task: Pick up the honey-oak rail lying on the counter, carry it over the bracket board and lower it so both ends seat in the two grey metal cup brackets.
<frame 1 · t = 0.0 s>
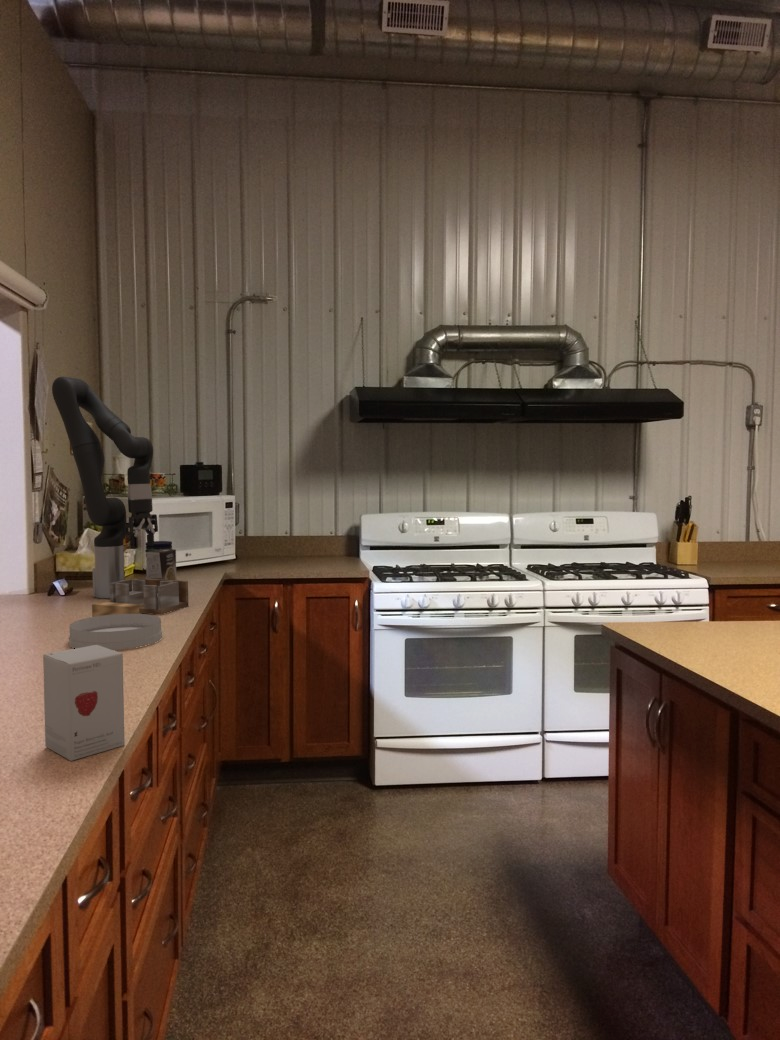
hand: (142, 547, 245), 17 cm above the countertop, tool pointing down, fingers open, 8 cm apart
dish: (116, 642, 187), on the countertop
coffee box: (162, 599, 246), on the countertop
supplement box: (85, 747, 117), on the countertop
bracket board: (150, 608, 229), on the countertop
storage jar: (159, 581, 283), on the countertop
rail: (115, 619, 214), on the countertop
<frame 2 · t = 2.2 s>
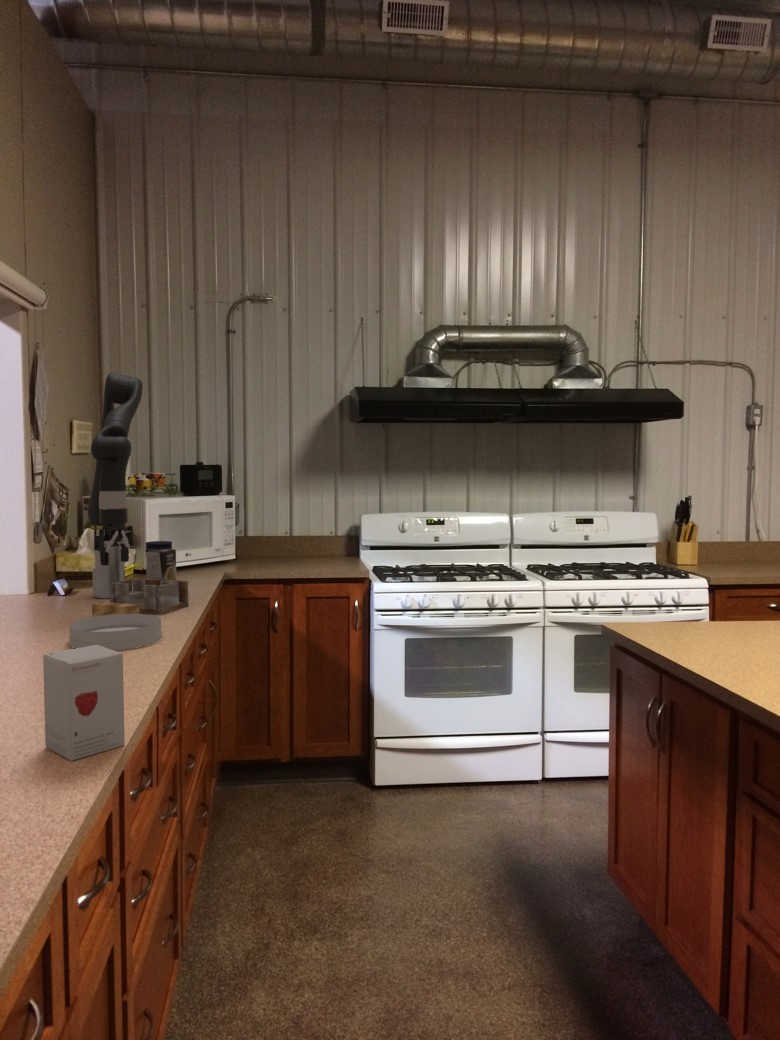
hand: (115, 563, 212), 16 cm above the countertop, tool pointing down, fingers open, 8 cm apart
nothing on the countertop moved.
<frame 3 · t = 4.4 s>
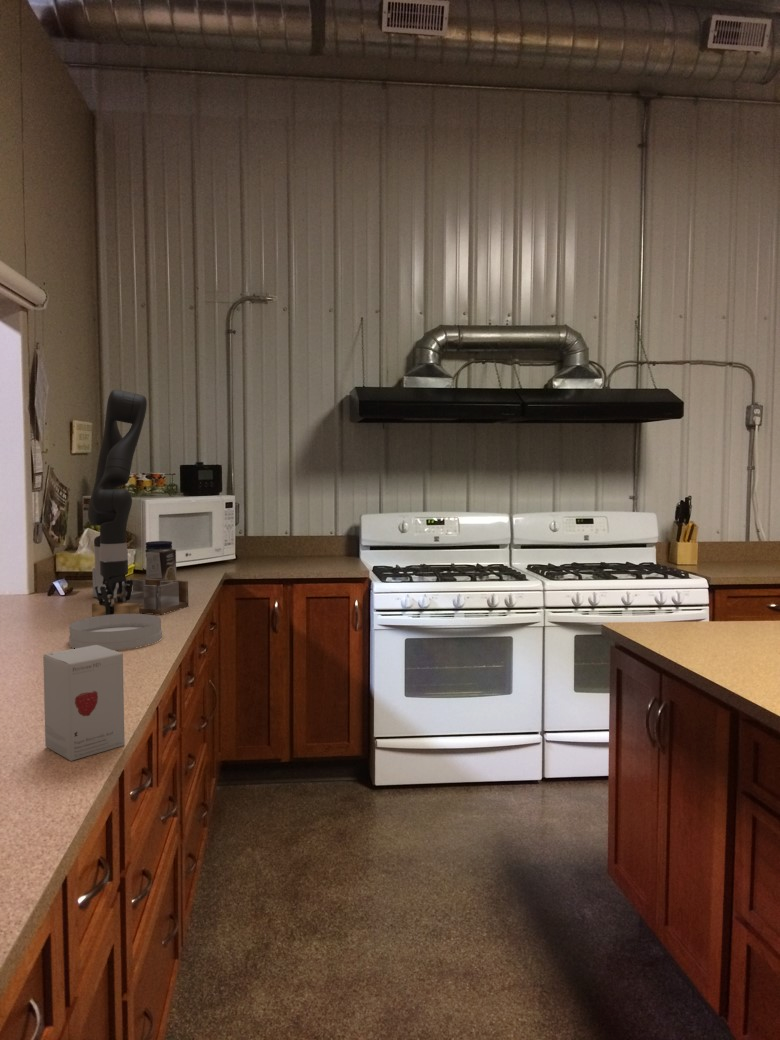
hand: (115, 617, 213), 0 cm above the countertop, tool pointing down, fingers closed on rail, 4 cm apart
rail: (115, 619, 214), on the countertop, touching gripper
everything else where it was.
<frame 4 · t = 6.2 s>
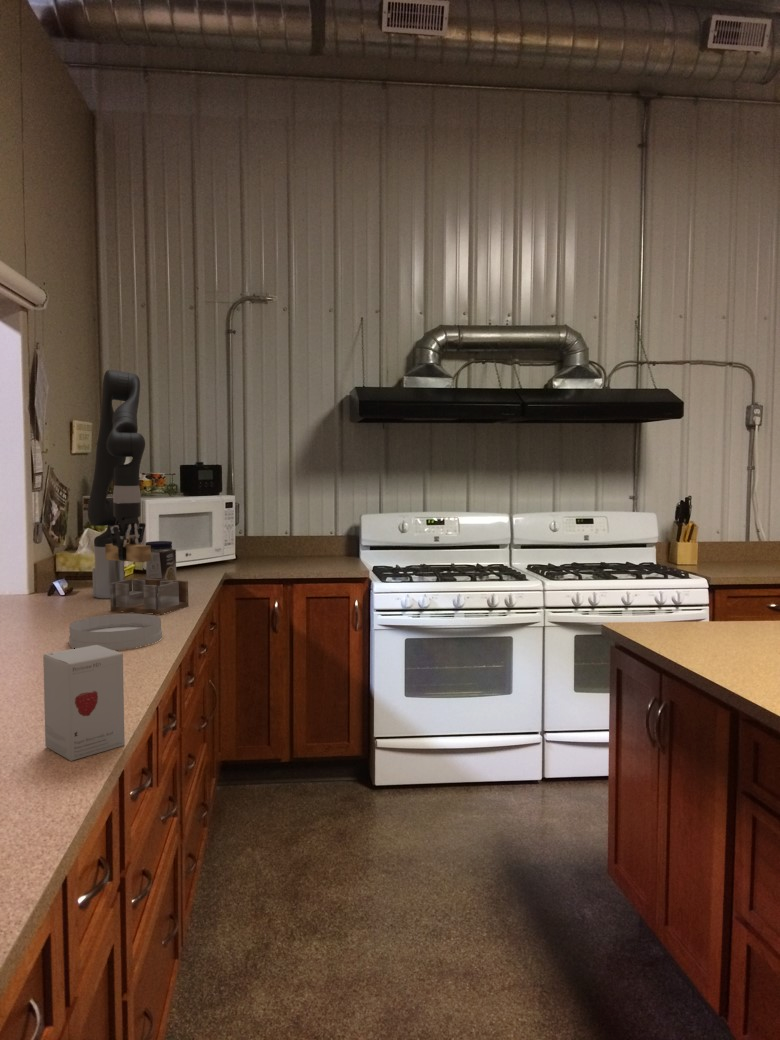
hand: (127, 558, 219), 17 cm above the countertop, tool pointing down, fingers closed on rail, 4 cm apart
rail: (128, 560, 219), point 16 cm above the countertop, touching gripper
everything else where it was.
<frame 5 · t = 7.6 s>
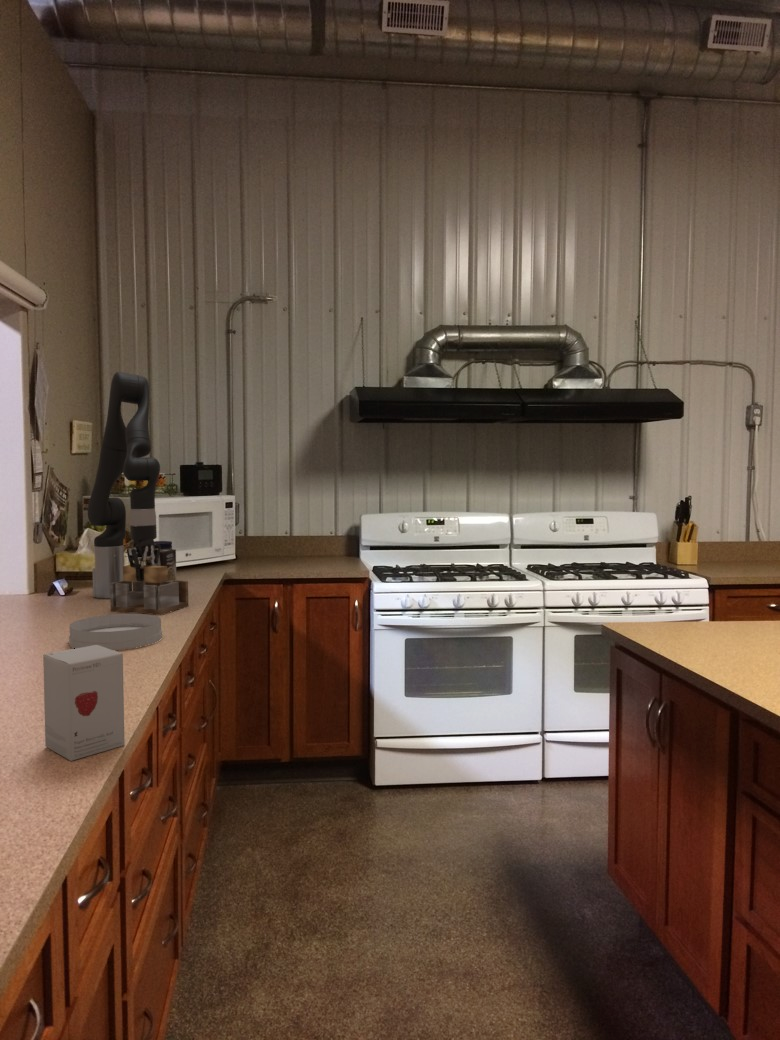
hand: (144, 579, 226), 9 cm above the countertop, tool pointing down, fingers closed on rail, 4 cm apart
rail: (145, 580, 226), point 9 cm above the countertop, touching gripper
everything else where it was.
when the fingers open (7 cm above the countertop, at t = 8.5 s): rail drops 1 cm, resting on bracket board.
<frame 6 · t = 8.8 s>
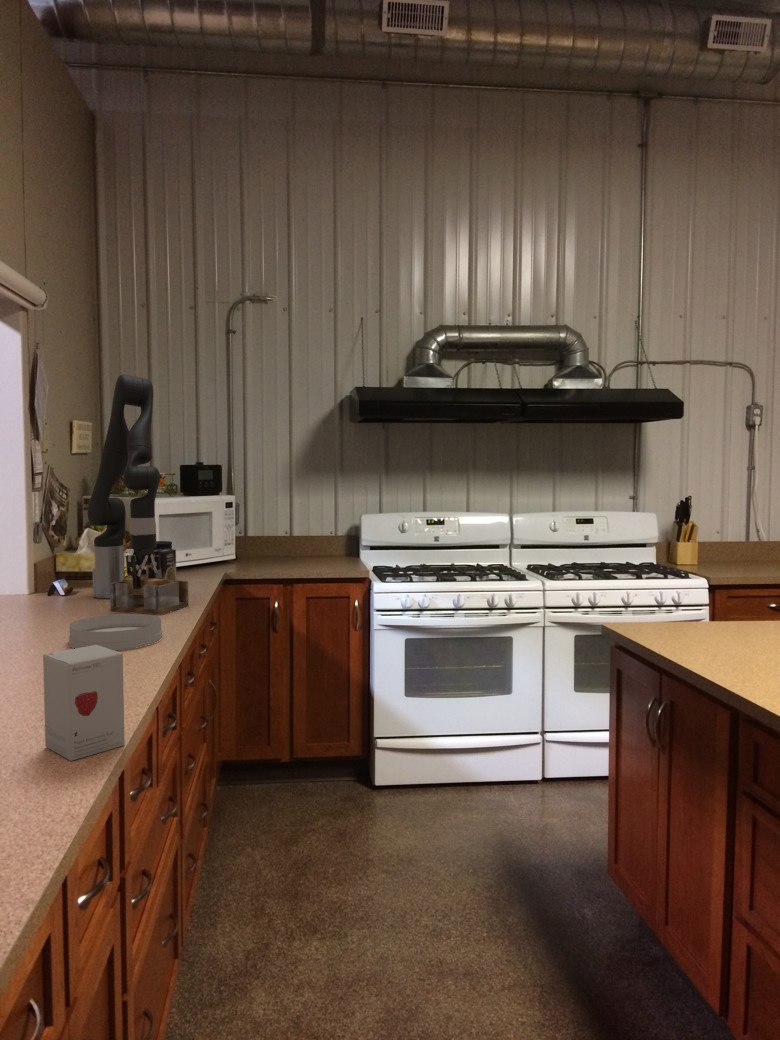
hand: (144, 586, 226), 7 cm above the countertop, tool pointing down, fingers open, 6 cm apart
rail: (145, 593, 226), point 5 cm above the countertop, touching bracket board
everything else where it was.
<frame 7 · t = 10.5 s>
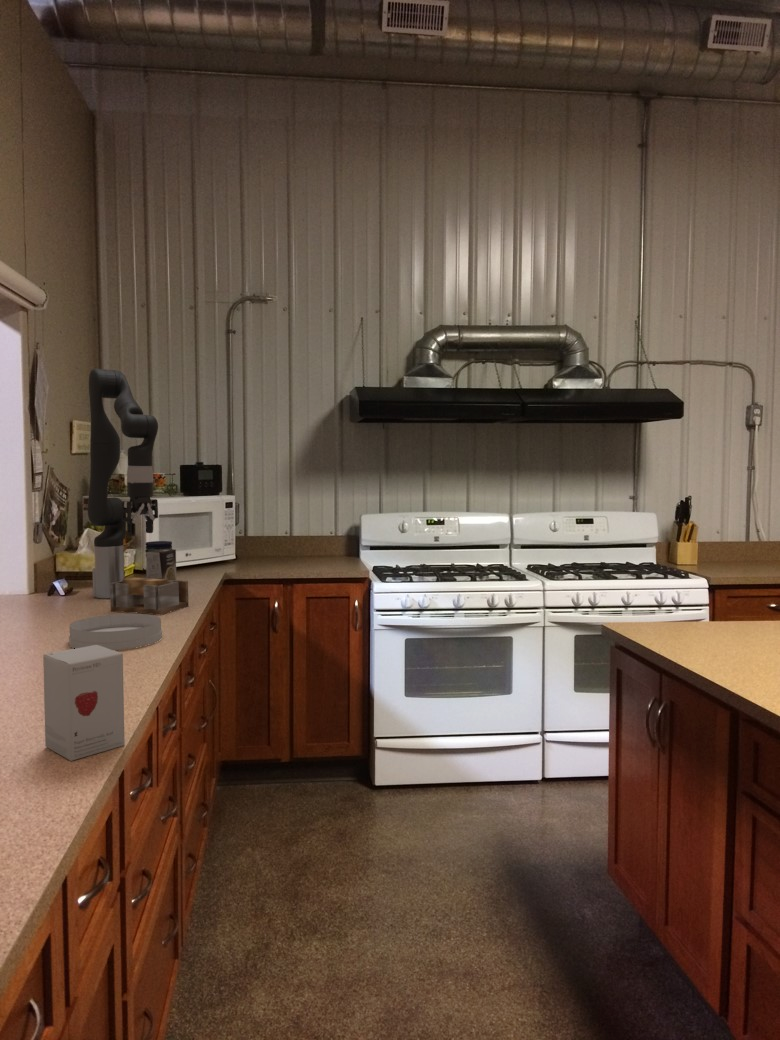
hand: (140, 534, 226), 23 cm above the countertop, tool pointing down, fingers open, 8 cm apart
nothing on the countertop moved.
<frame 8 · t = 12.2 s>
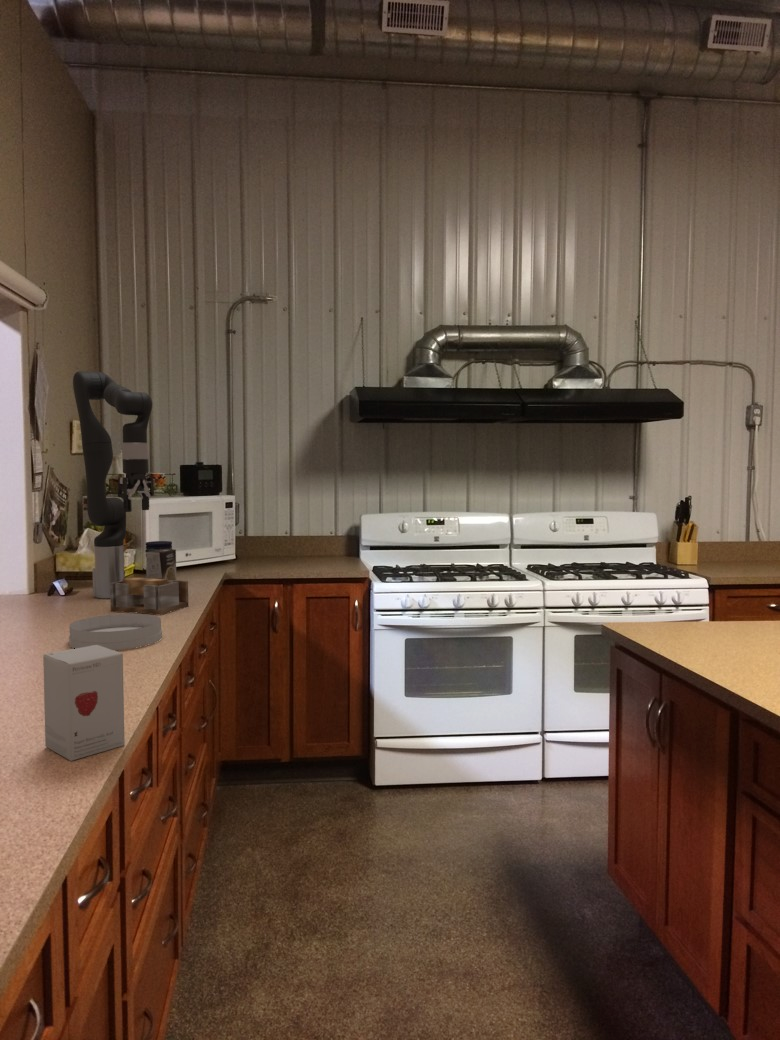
hand: (136, 511, 228), 30 cm above the countertop, tool pointing down, fingers open, 8 cm apart
nothing on the countertop moved.
at the end: rail 0.1 cm from the target spot on the bracket board, point 5.0 cm above the bracket board's base; rail touching bracket board; the gripper is holding nothing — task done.
